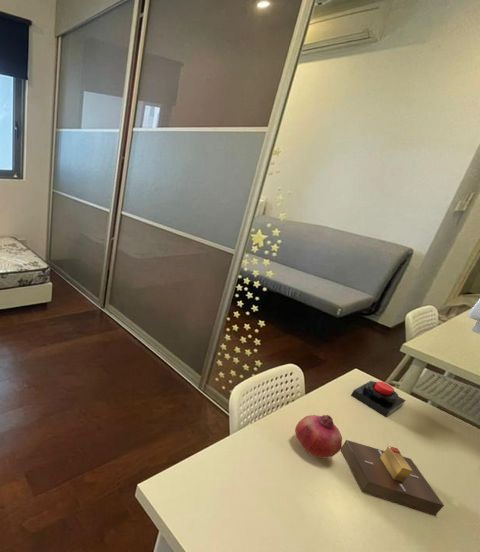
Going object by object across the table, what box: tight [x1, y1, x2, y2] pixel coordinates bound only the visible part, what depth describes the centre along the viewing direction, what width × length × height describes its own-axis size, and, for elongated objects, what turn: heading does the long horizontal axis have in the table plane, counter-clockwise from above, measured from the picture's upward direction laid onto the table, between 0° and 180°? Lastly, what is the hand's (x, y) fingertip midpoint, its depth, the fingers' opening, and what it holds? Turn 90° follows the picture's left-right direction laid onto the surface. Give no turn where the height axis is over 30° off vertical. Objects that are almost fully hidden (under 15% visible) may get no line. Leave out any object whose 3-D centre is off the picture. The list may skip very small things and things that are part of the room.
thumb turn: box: [380, 445, 412, 482], centre depth 64 cm, size 5×2×4 cm, turn 163°
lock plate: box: [340, 439, 445, 516], centre depth 65 cm, size 12×10×3 cm
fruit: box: [294, 414, 343, 459], centre depth 68 cm, size 8×8×10 cm
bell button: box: [374, 380, 395, 396], centre depth 86 cm, size 4×4×2 cm
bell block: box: [350, 380, 406, 418], centre depth 87 cm, size 10×8×4 cm
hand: (478, 331), depth 72 cm, fingers closed
